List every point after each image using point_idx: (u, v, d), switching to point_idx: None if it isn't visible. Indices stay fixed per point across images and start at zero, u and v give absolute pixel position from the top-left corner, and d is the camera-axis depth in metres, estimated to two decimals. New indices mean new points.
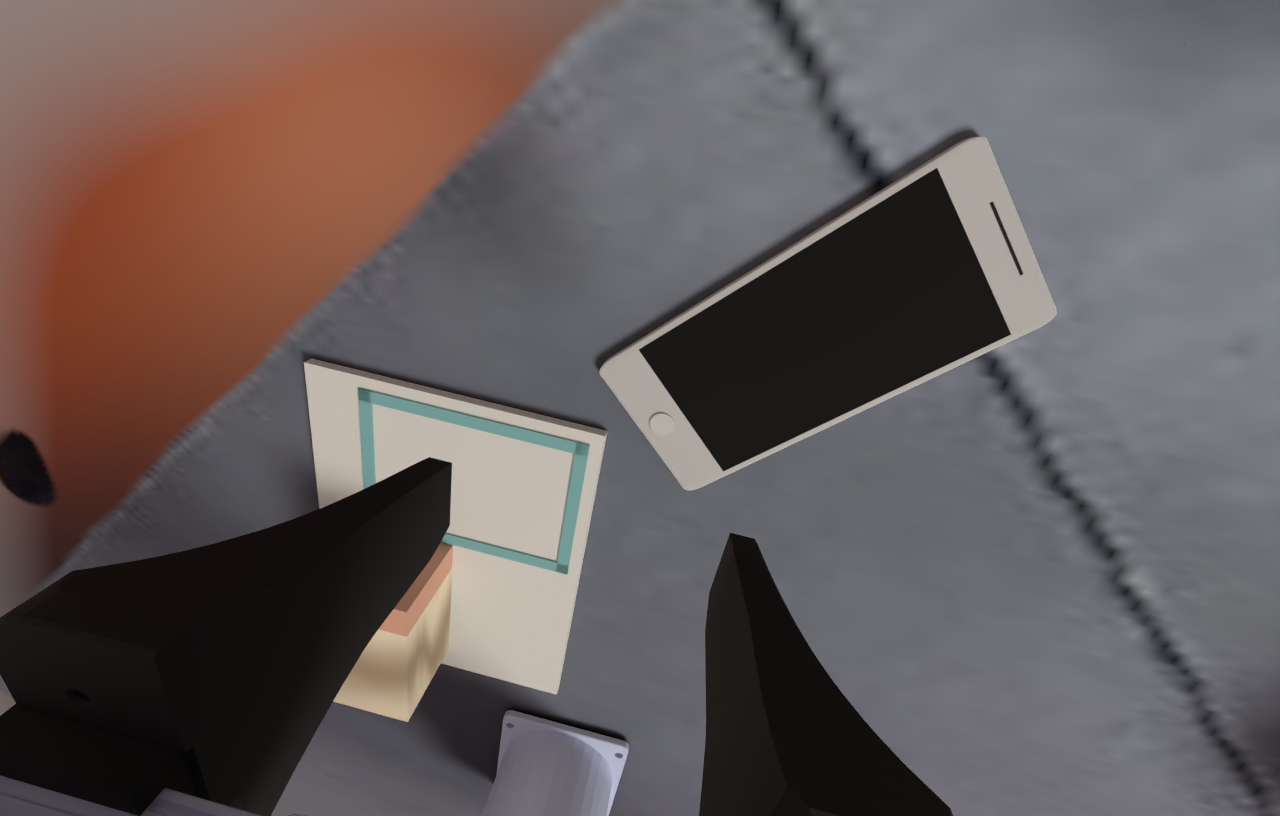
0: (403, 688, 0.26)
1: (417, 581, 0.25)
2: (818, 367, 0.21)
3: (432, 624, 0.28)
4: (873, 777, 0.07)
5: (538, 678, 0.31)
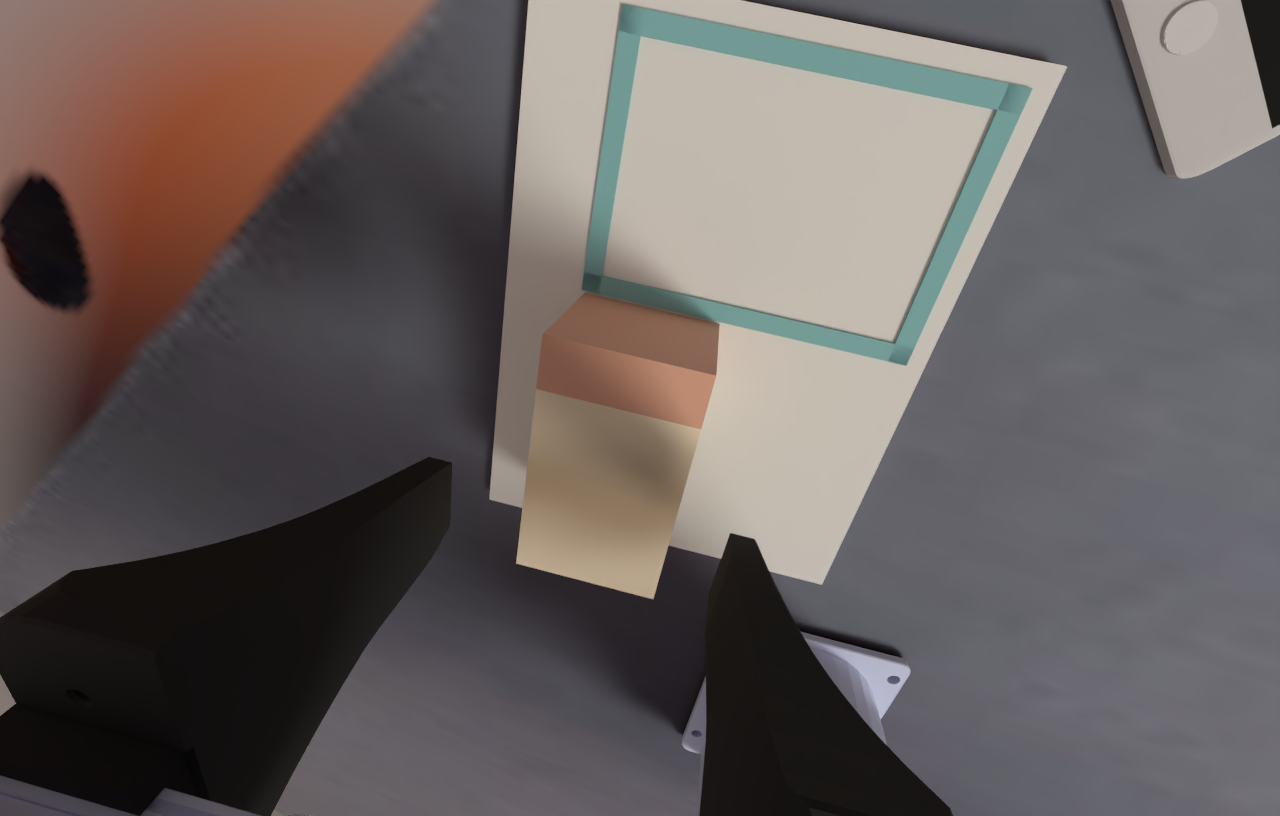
0: (664, 535, 0.16)
1: (702, 349, 0.15)
2: None
3: None
4: (872, 775, 0.07)
5: (800, 558, 0.21)
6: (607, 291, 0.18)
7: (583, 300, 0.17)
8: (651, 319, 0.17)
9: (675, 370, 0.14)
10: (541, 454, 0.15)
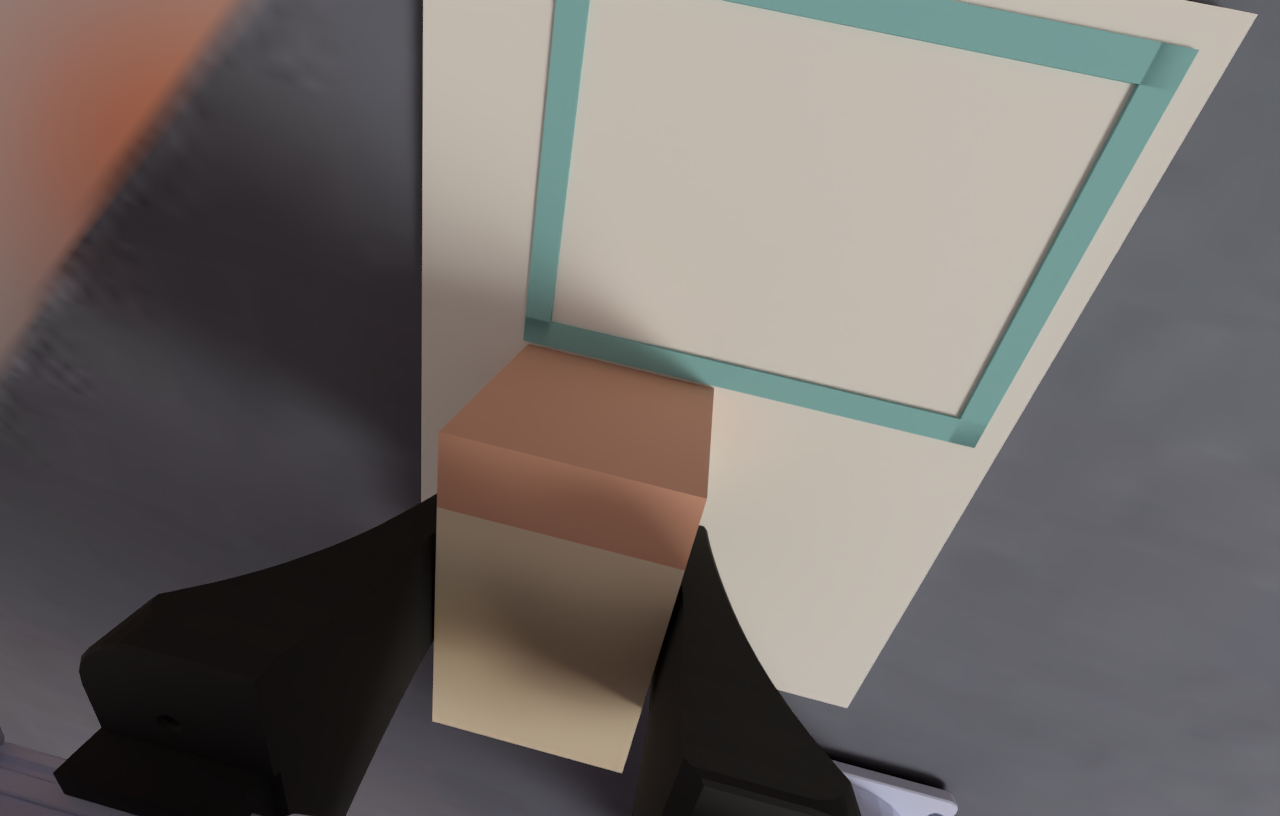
0: (634, 701, 0.11)
1: (688, 440, 0.10)
2: None
3: None
4: (777, 750, 0.07)
5: (820, 676, 0.16)
6: (558, 343, 0.13)
7: (523, 358, 0.12)
8: (617, 386, 0.12)
9: (643, 489, 0.09)
10: (453, 592, 0.11)
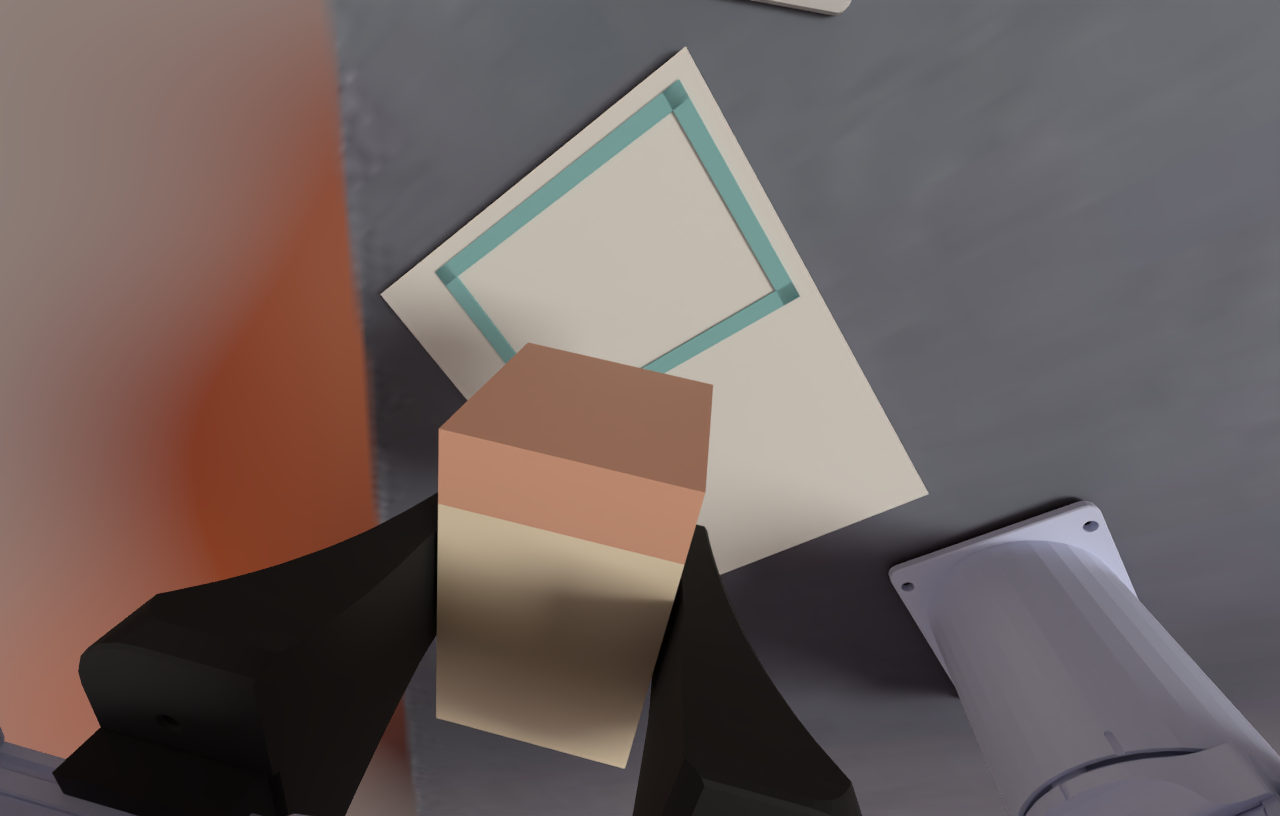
0: (635, 696, 0.11)
1: (687, 435, 0.10)
2: None
3: None
4: (778, 750, 0.07)
5: (887, 486, 0.21)
6: None
7: (522, 356, 0.12)
8: (616, 383, 0.12)
9: (643, 484, 0.09)
10: (455, 588, 0.11)
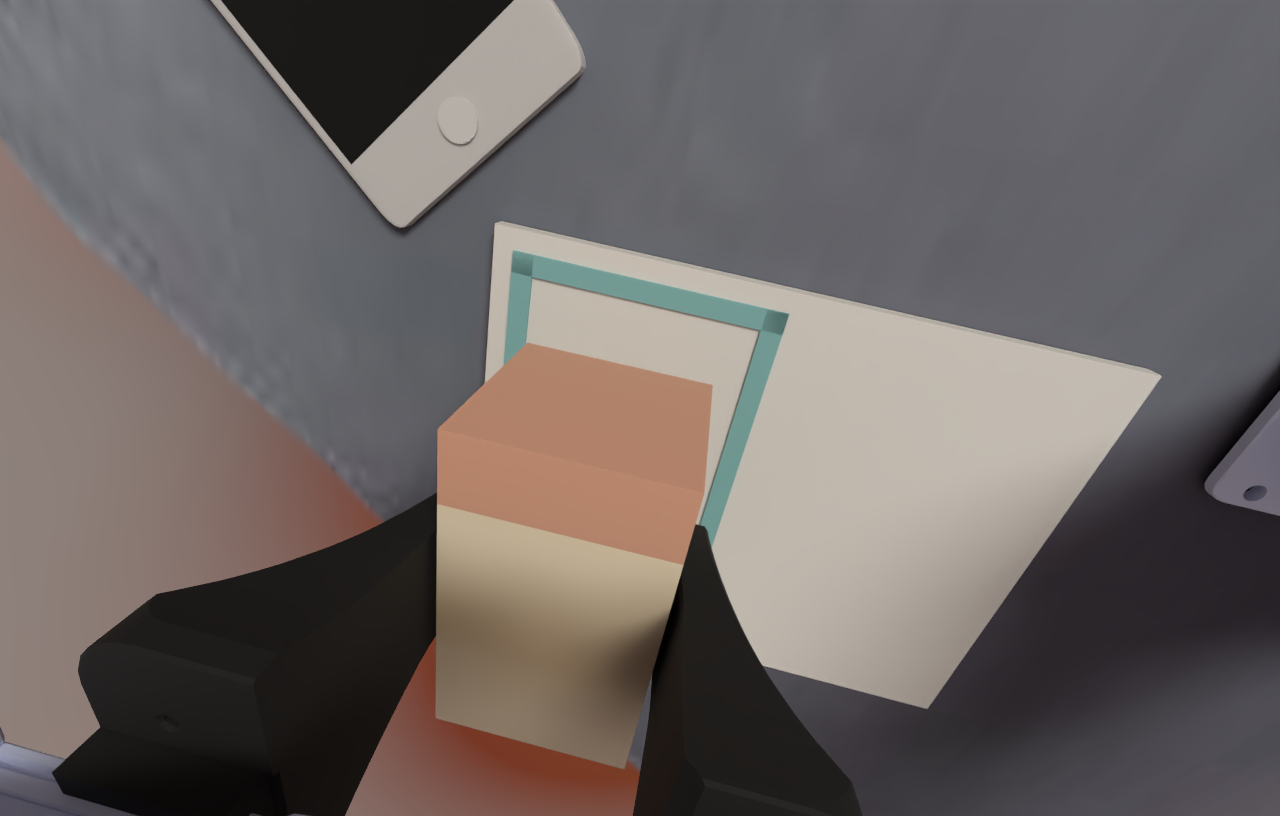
0: (635, 696, 0.11)
1: (686, 436, 0.10)
2: None
3: None
4: (778, 751, 0.07)
5: (1094, 407, 0.14)
6: None
7: (522, 356, 0.12)
8: (616, 384, 0.12)
9: (641, 484, 0.09)
10: (454, 589, 0.11)
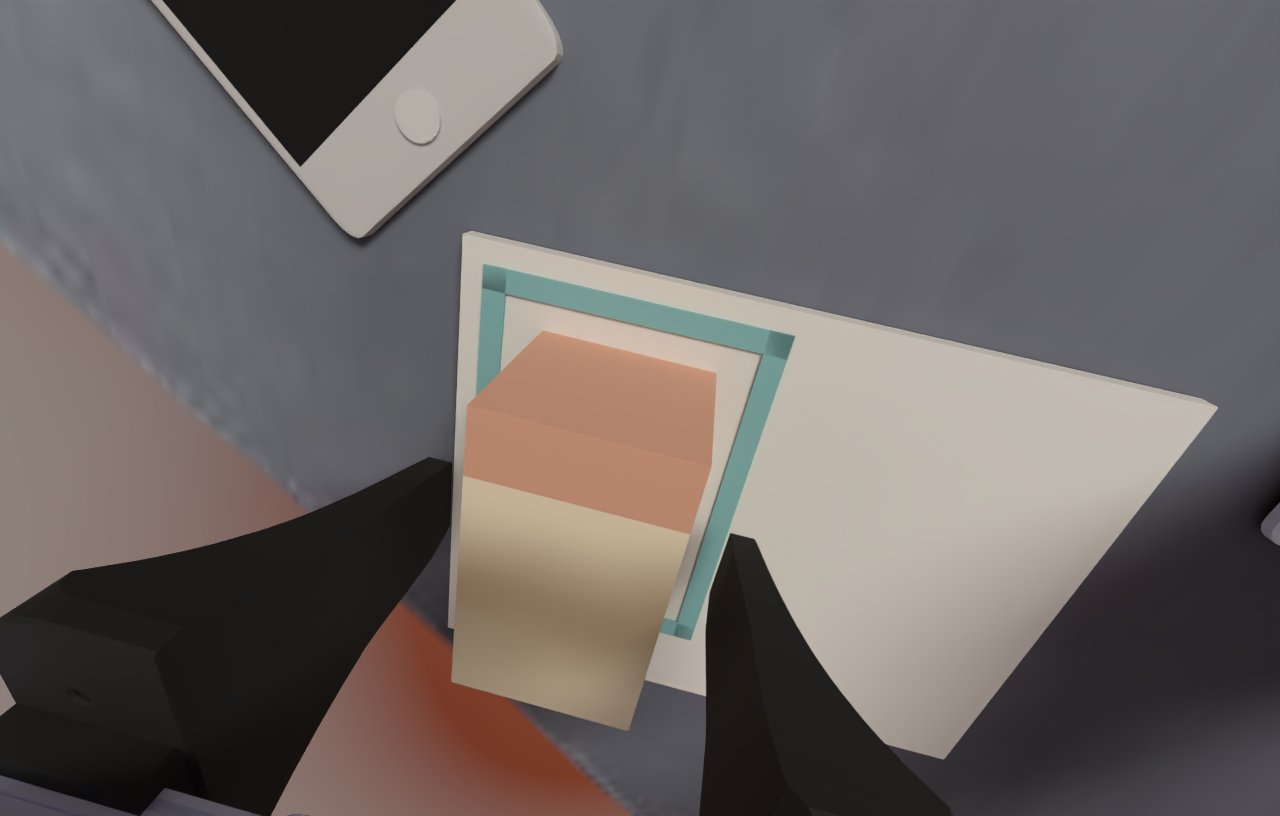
0: (640, 660, 0.12)
1: (693, 417, 0.11)
2: None
3: None
4: (873, 776, 0.07)
5: (1140, 441, 0.13)
6: (692, 621, 0.17)
7: (538, 342, 0.13)
8: (627, 369, 0.13)
9: (654, 458, 0.10)
10: (475, 556, 0.11)
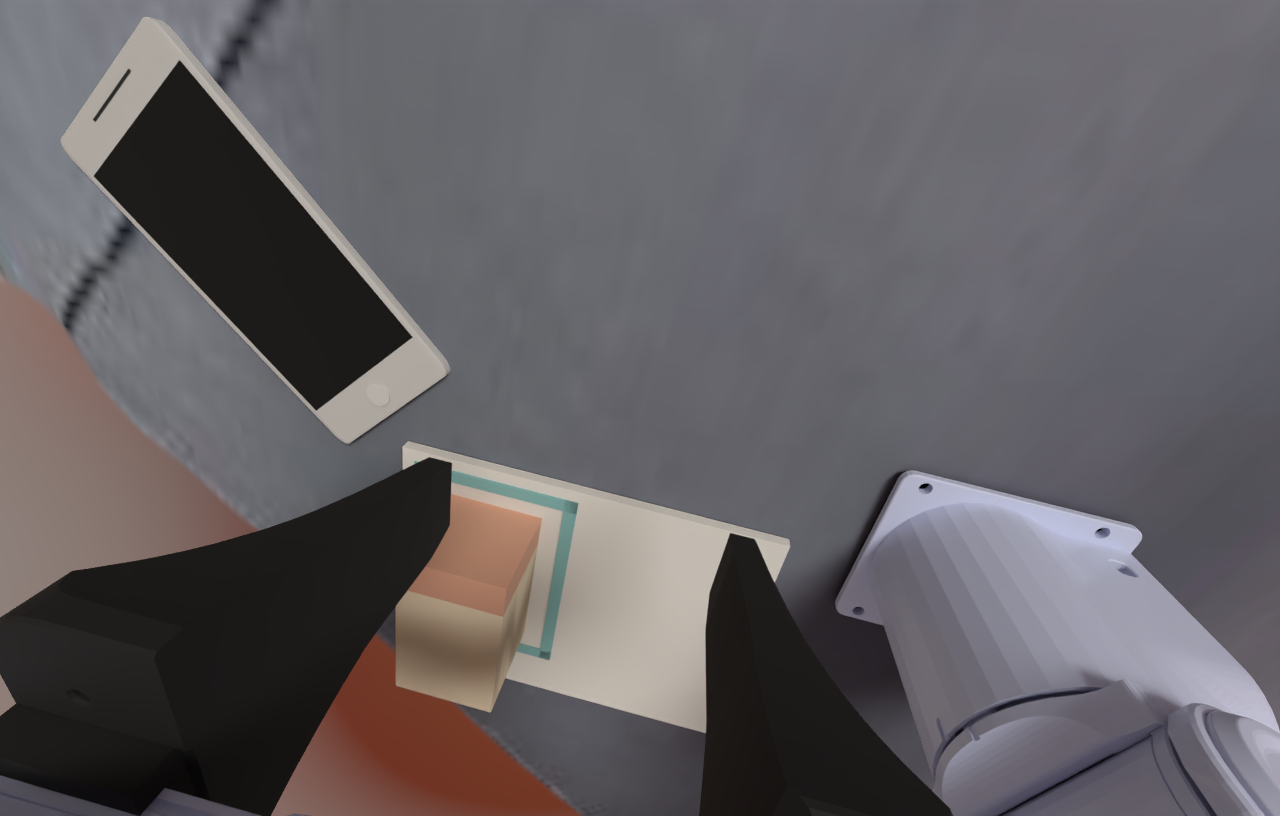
0: (490, 675, 0.24)
1: (511, 555, 0.23)
2: (277, 251, 0.21)
3: (518, 605, 0.25)
4: (873, 775, 0.07)
5: None
6: (548, 649, 0.29)
7: None
8: (488, 522, 0.24)
9: (481, 584, 0.21)
10: (403, 623, 0.23)
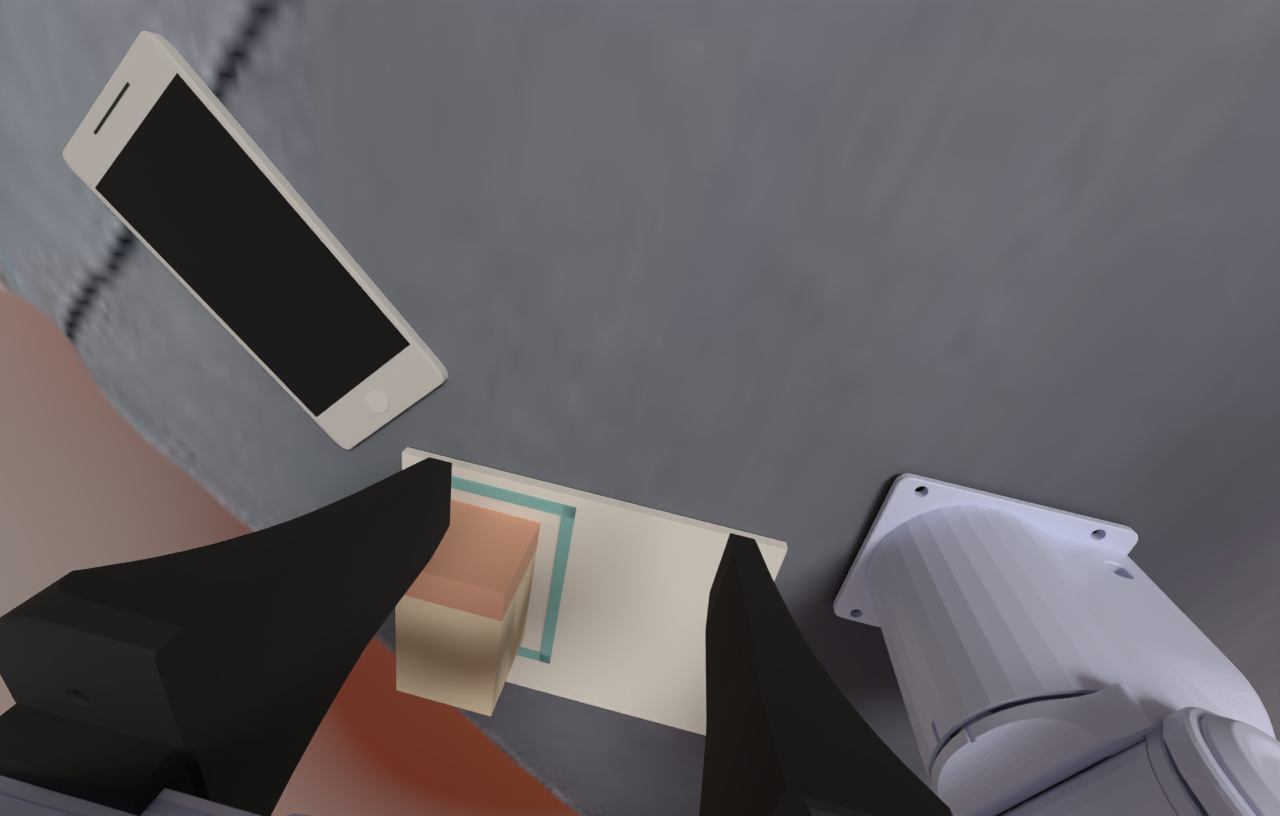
0: (490, 679, 0.24)
1: (510, 560, 0.23)
2: (275, 260, 0.21)
3: (518, 609, 0.25)
4: (873, 776, 0.07)
5: None
6: (548, 652, 0.29)
7: None
8: (486, 527, 0.24)
9: (479, 589, 0.21)
10: (403, 628, 0.23)
